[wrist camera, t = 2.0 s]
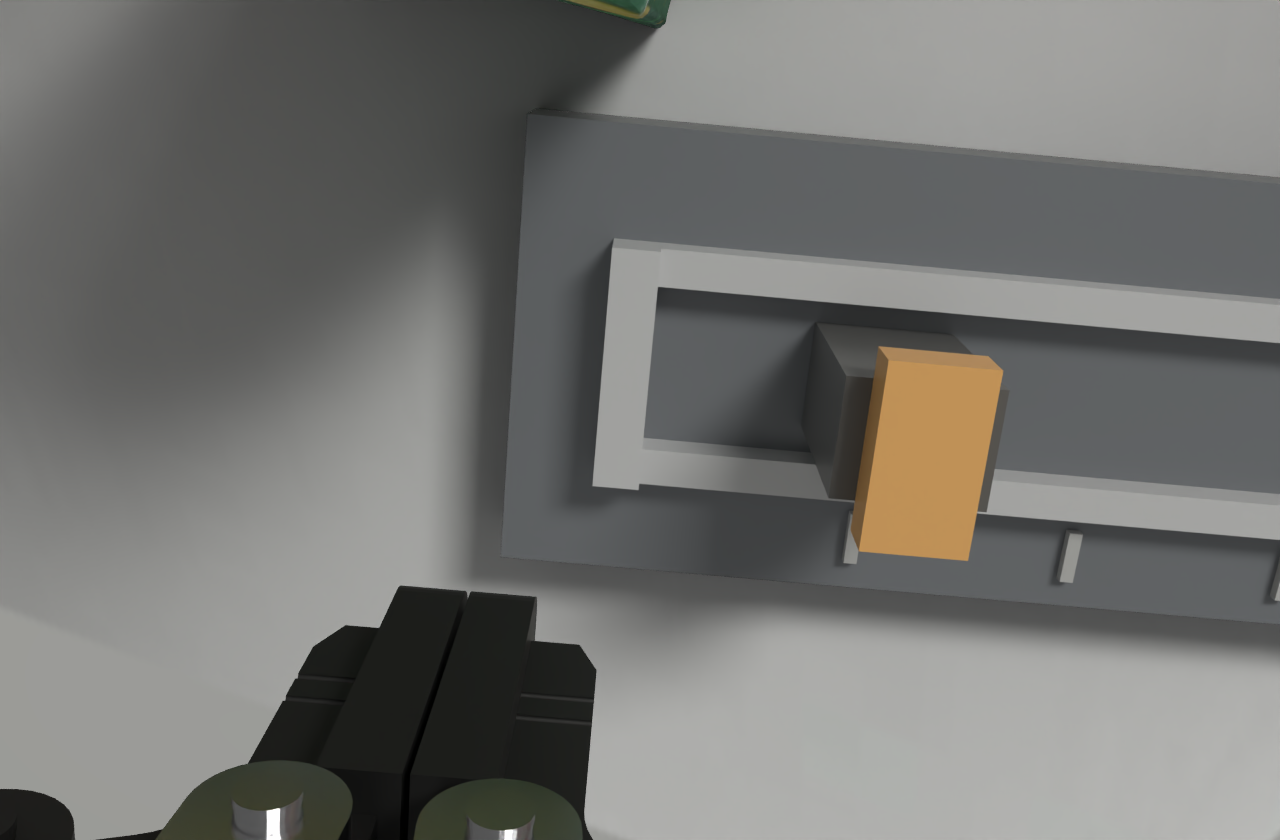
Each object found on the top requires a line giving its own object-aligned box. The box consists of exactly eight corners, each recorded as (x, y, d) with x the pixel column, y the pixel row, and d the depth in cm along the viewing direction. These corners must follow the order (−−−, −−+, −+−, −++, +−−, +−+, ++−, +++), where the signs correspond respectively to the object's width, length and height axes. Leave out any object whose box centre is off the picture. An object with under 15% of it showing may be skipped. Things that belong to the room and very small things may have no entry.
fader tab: (819, 294, 26) (859, 358, 21) (957, 306, 26) (1031, 373, 21) (797, 452, 27) (831, 548, 22) (930, 464, 27) (994, 563, 22)
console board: (536, 108, 27) (520, 117, 24) (1943, 239, 28) (2104, 264, 25) (510, 524, 30) (494, 579, 27) (1779, 634, 31) (1904, 700, 28)
